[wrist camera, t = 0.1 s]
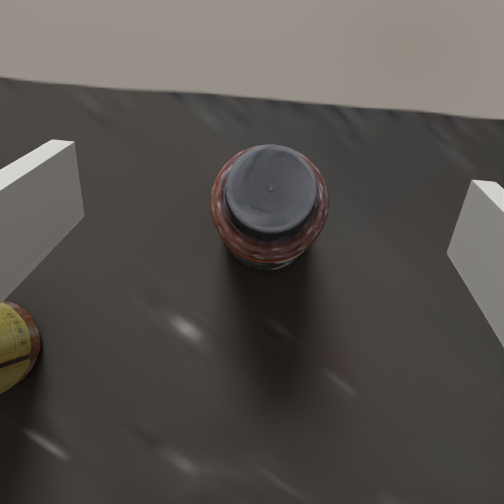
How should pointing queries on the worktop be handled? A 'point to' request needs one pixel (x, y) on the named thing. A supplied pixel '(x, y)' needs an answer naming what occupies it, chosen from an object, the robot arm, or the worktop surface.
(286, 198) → the supplement bottle
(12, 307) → the sauce bottle
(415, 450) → the worktop surface
